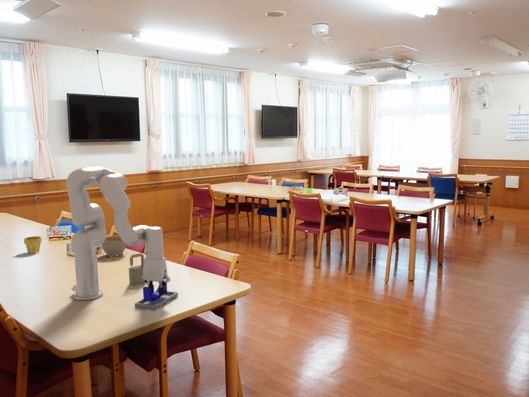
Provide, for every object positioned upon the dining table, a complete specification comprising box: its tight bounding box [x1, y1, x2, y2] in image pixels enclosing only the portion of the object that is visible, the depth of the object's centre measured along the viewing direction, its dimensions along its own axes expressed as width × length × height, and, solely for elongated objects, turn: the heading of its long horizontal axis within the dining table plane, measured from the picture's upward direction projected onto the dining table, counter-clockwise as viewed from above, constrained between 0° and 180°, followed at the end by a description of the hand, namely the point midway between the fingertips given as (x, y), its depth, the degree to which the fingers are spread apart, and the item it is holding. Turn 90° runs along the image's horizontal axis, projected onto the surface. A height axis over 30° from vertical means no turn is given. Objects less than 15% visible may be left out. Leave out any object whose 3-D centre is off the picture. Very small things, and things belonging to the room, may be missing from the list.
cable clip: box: [142, 279, 168, 302], centre depth 199 cm, size 12×4×6 cm, turn 151°
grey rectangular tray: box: [134, 290, 179, 312], centre depth 200 cm, size 10×18×2 cm, turn 159°
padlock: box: [128, 252, 146, 286], centre depth 227 cm, size 4×8×15 cm, turn 132°
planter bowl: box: [100, 235, 127, 257], centre depth 283 cm, size 16×16×11 cm
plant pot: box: [23, 235, 43, 254], centre depth 293 cm, size 10×10×10 cm
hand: (156, 294), depth 200 cm, fingers closed on cable clip, 4 cm apart
